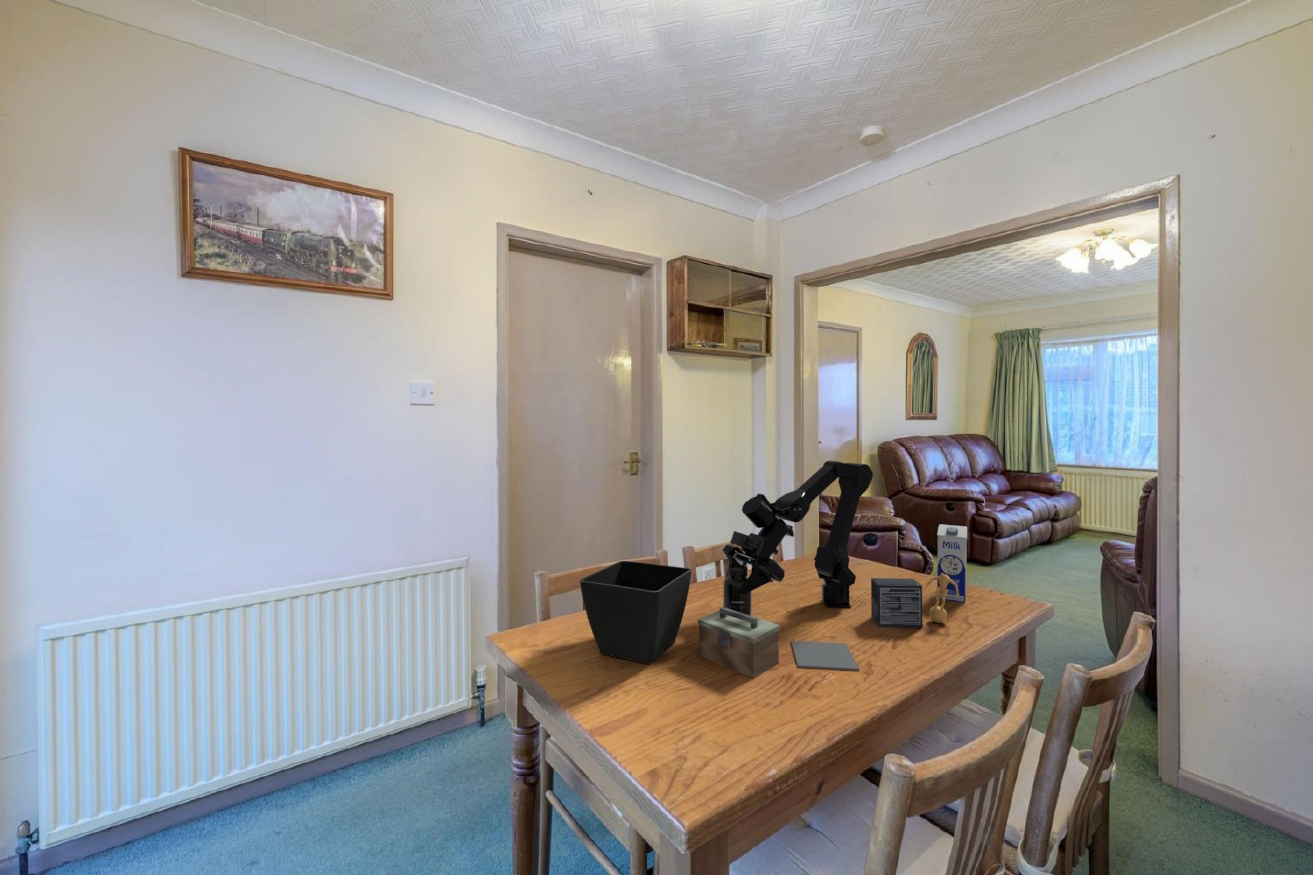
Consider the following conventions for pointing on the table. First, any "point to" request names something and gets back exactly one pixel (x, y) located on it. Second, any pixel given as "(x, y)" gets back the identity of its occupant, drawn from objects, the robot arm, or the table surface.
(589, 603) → the flower pot
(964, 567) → the milk carton
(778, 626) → the toolbox
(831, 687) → the table surface
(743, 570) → the supplement bottle
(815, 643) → the mat
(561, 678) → the table surface
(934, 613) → the figurine
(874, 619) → the small box
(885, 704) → the table surface
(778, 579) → the robot arm
